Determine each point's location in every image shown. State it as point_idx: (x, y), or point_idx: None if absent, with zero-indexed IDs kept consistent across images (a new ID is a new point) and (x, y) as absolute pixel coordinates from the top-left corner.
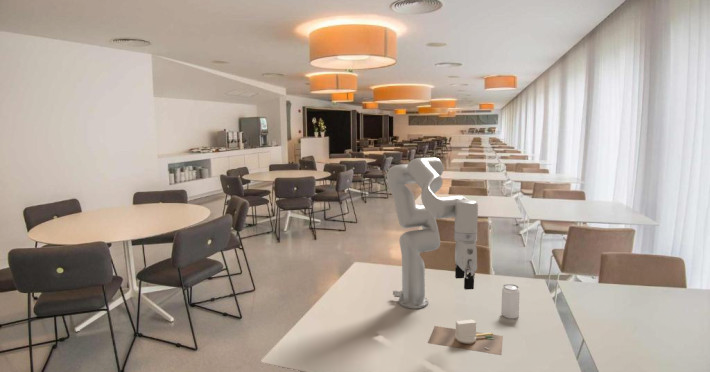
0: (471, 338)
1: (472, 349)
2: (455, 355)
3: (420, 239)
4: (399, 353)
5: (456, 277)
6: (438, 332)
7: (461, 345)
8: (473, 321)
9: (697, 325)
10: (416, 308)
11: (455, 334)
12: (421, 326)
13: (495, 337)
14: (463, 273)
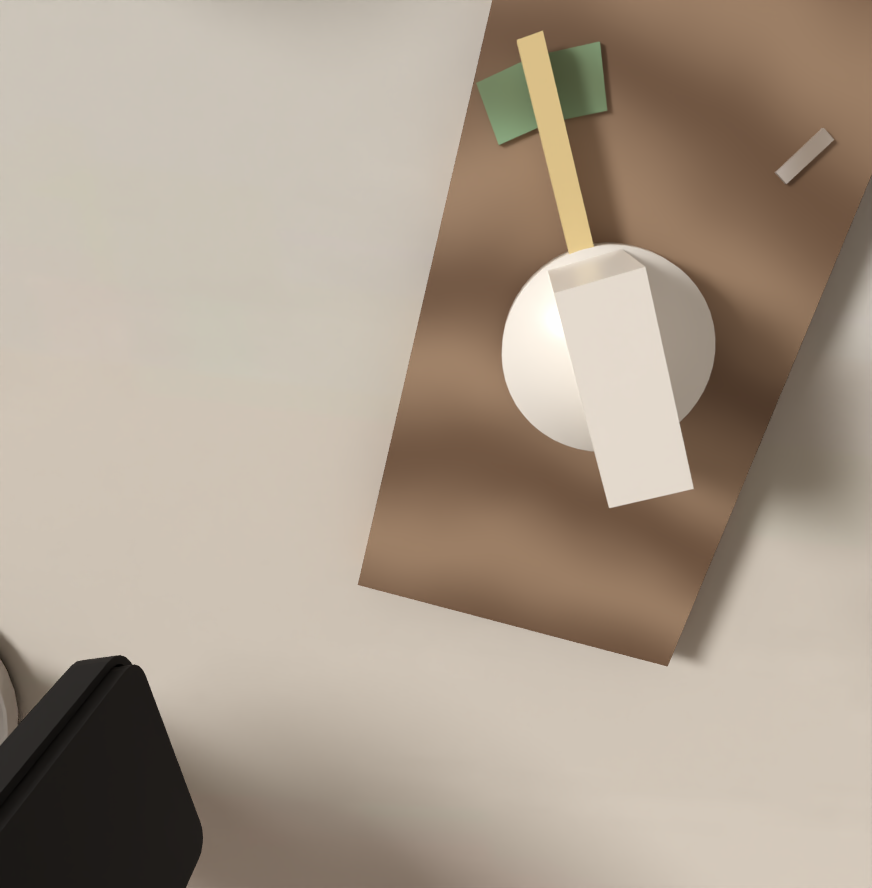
0: (673, 304)
1: (801, 307)
2: (807, 450)
3: None
4: (753, 828)
5: (192, 853)
6: (479, 567)
7: (719, 399)
8: (615, 298)
9: None
10: (7, 673)
11: (589, 450)
12: (320, 659)
13: (552, 10)
14: (70, 779)
